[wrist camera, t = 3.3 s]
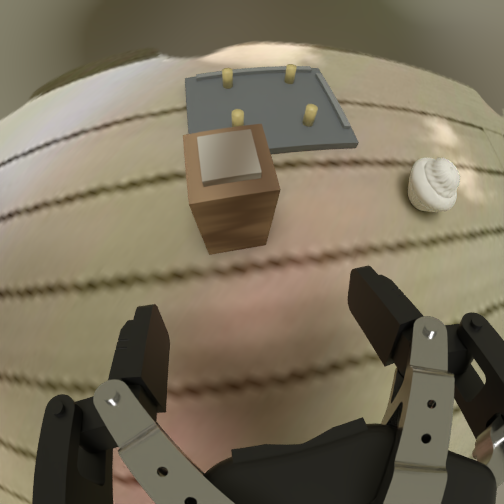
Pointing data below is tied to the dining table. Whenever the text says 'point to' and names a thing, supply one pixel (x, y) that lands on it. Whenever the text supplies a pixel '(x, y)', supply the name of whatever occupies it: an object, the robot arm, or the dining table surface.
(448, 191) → the white rounded jar
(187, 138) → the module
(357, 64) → the dining table surface
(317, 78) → the plate
